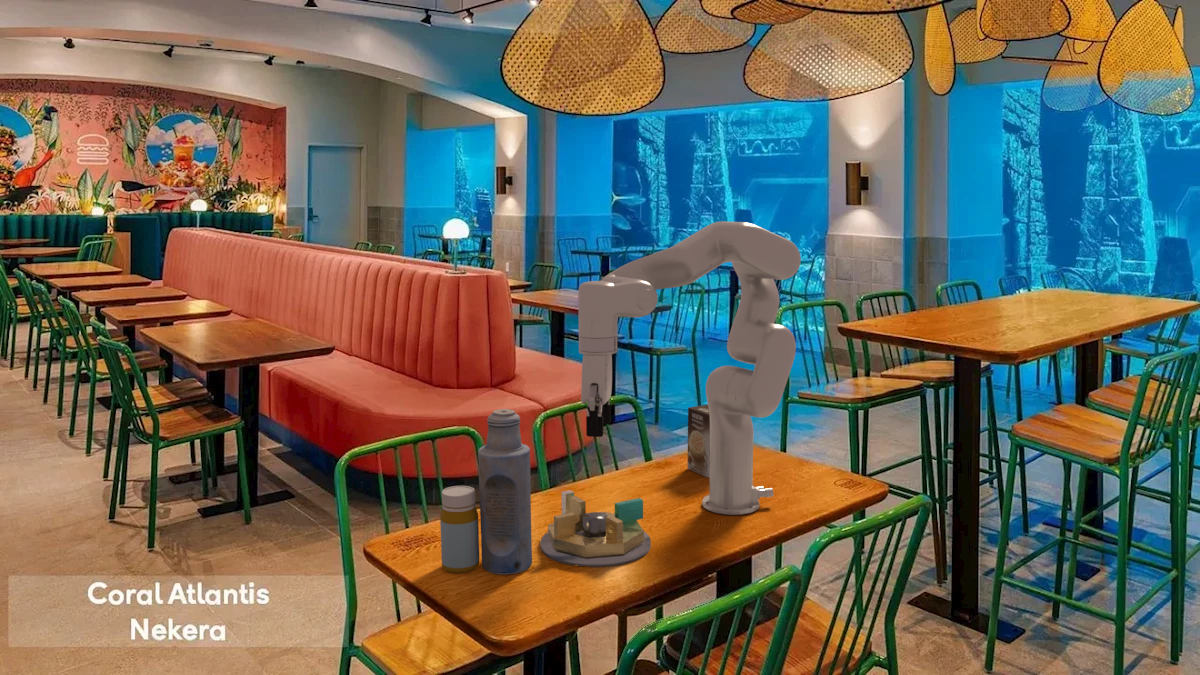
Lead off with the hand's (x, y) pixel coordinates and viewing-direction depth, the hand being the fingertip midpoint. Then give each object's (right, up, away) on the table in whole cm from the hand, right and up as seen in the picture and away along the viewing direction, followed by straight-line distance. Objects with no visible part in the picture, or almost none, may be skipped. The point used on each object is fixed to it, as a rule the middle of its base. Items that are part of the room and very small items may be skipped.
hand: (598, 429), depth 187 cm
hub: (-1, -23, +2) cm, 23 cm away
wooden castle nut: (0, -22, +1) cm, 22 cm away
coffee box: (+27, -16, +50) cm, 59 cm away
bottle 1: (-26, -25, -9) cm, 37 cm away
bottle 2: (-17, -25, -8) cm, 32 cm away
